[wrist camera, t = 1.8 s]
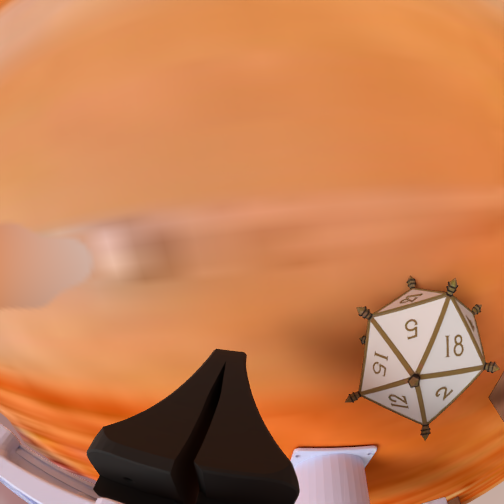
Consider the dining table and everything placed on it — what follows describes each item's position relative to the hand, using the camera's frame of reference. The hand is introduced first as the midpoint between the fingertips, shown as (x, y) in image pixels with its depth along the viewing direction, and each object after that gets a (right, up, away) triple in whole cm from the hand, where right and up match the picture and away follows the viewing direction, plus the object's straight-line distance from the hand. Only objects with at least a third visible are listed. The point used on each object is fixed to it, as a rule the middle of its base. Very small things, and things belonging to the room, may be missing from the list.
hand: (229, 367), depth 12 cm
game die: (+11, +1, +5) cm, 12 cm away
